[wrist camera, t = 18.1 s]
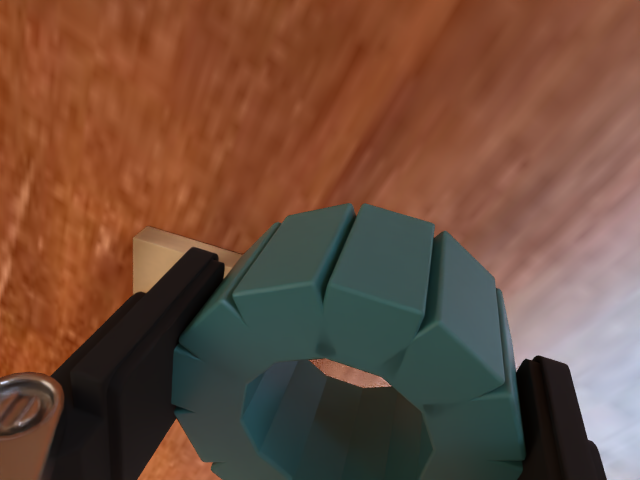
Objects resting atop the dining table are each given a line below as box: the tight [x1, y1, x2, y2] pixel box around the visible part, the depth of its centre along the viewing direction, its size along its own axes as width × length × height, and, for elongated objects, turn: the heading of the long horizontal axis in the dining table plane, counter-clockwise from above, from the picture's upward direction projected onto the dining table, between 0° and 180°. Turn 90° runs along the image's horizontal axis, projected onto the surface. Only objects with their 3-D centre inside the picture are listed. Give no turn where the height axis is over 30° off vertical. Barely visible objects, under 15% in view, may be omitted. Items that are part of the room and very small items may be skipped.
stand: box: [133, 226, 242, 295], centre depth 26 cm, size 9×9×10 cm
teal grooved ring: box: [171, 203, 527, 480], centre depth 10 cm, size 6×6×3 cm
